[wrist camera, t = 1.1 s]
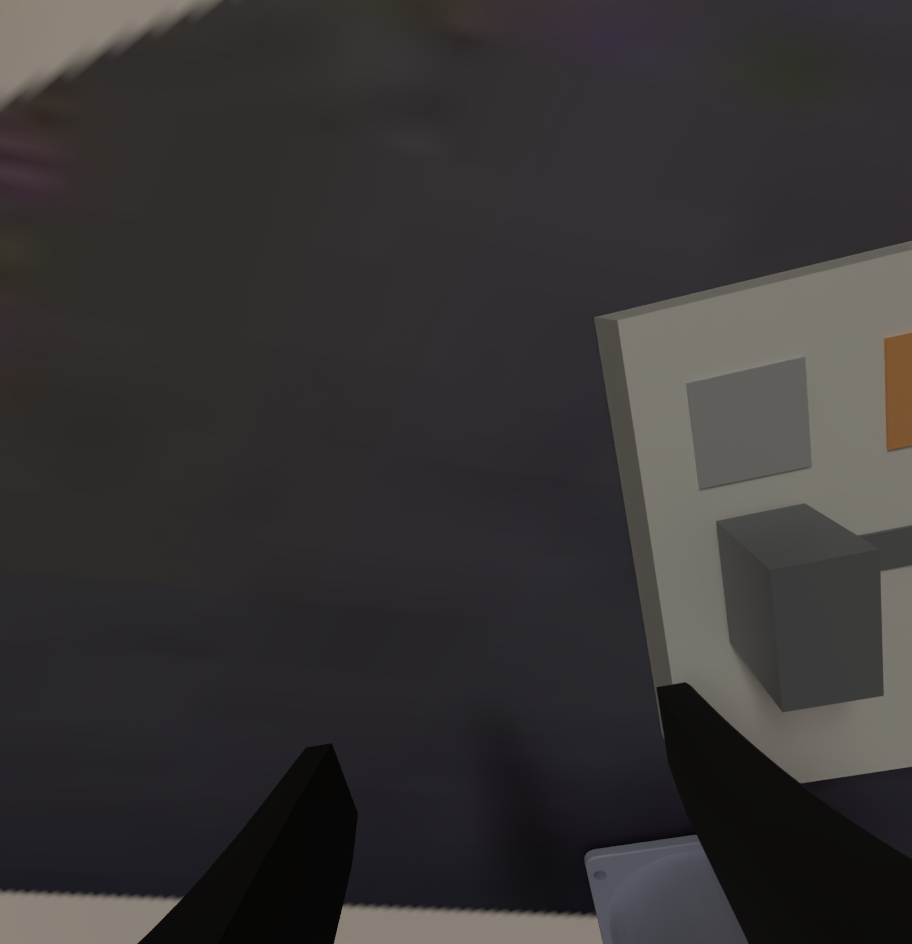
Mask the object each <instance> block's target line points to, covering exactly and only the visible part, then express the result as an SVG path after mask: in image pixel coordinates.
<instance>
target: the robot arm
mask: <svg viewBox="0 0 912 944" xmlns="http://www.w3.org/2000/svg"><path fill="white" fill-rule="evenodd" d="M656 689H657V695H658V701H659V707H660V713H661V720H662V726H663V732H664V738H665V744H666V751H667V757H668V763H669V766H670V769H671V772H672V775H673V778H674V780H675V783H676V786H677V789H678V792H679V794H680V797H681V800H682V802H683V805H684V808H685V811H686V813H687V816H688V818H689V820H690V822H691V824H692V826H693V829H694V831H695V833H696V835H689V836H682V837H675V838H669V839H662V840H655V841H648V842H641V843H634V844H627V845H620V846H613V847H606V848H599V849H593V850H590V851H589V852H588V853H586V855H585V858H584V861H585V866H586V870H587V875H588V879H589V883H590V888H591V892H592V897H593V901H594V905H595V910H596V914H597V919H598V923H599V927H600V931H601V936H602V940H603V944H912V859H911V858H909V857H907V856H906V855H904V854H902V853H901V852H899V851H897V850H896V849H894V848H893V847H891V846H889V845H888V844H886V843H885V842H883V841H882V840H880V839H879V838H877V837H876V836H874V835H872V834H871V833H869V832H868V831H866V830H865V829H863V828H862V827H860V826H859V825H857V824H856V823H854V822H853V821H852V820H850V819H849V818H847V817H846V816H844V815H843V814H841V813H840V812H838V811H837V810H836V809H834V808H833V807H831V806H830V805H829V804H827V803H826V802H824V801H823V800H822V799H820V798H819V797H818V796H816V795H815V794H814V793H812V792H811V791H810V790H808V789H807V788H806V787H805V786H803V785H802V784H801V783H799V782H798V781H797V780H796V779H794V778H793V777H792V776H790V775H789V774H788V773H787V772H785V771H784V770H783V769H782V768H780V767H779V766H778V765H777V764H776V763H774V762H773V761H772V760H771V759H769V758H768V757H767V756H766V755H765V754H764V753H762V752H761V751H760V750H759V749H758V748H757V747H755V746H754V745H753V744H752V743H751V742H750V741H749V740H747V739H746V738H745V737H744V736H743V735H742V734H741V733H739V732H738V731H737V730H736V729H735V728H734V727H733V726H732V725H731V724H730V723H729V722H727V721H726V720H725V719H724V718H723V717H722V716H721V715H720V714H719V713H718V712H717V711H716V710H715V709H714V708H713V707H712V706H711V705H710V704H709V703H708V702H707V701H706V700H705V699H704V698H703V697H702V696H701V695H700V694H699V693H698V692H697V691H696V690H695V689H694V688H693V687H692V686H691V685H689V684H688V683H686V682H684V683H678V684H672V685H666V686H661V687H656ZM357 816H358V813H357V810H356V807H355V805H354V802H353V799H352V797H351V794H350V791H349V788H348V786H347V783H346V780H345V778H344V775H343V772H342V770H341V767H340V764H339V761H338V759H337V756H336V753H335V751H334V748H333V745H332V743H331V744H325V745H320V746H314V747H308V748H306V749H305V750H304V751H303V752H302V754H301V755H300V756H299V757H298V759H297V760H296V761H295V762H294V764H293V765H292V766H291V768H290V769H289V770H288V771H287V773H286V774H285V775H284V777H283V778H282V779H281V781H280V782H279V783H278V784H277V786H276V787H275V788H274V790H273V791H272V792H271V794H270V795H269V796H268V798H267V799H266V800H265V801H264V803H263V804H262V805H261V806H260V808H259V809H258V810H257V812H256V813H255V814H254V815H253V817H252V818H251V819H250V820H249V822H248V823H247V824H246V826H245V827H244V828H243V829H242V831H241V832H240V833H239V834H238V835H237V837H236V838H235V839H234V840H233V841H232V842H231V844H230V845H229V846H228V847H227V848H226V850H225V851H224V852H223V853H222V854H221V855H220V857H219V858H218V859H217V860H216V861H215V863H214V864H213V865H212V866H211V867H210V868H209V870H208V871H207V872H206V873H205V874H204V876H203V877H202V878H201V879H200V880H199V881H198V882H197V883H196V884H195V886H194V887H193V888H192V889H191V890H190V891H189V892H188V893H187V894H186V895H185V896H184V897H183V899H182V900H181V901H180V902H179V903H178V904H177V905H176V906H175V907H174V908H173V909H172V910H171V911H170V912H169V913H168V914H167V915H166V916H165V917H164V918H163V919H162V920H161V921H160V922H159V924H157V925H156V926H155V927H154V928H153V929H152V931H150V932H149V933H148V934H147V935H146V936H145V937H144V938H143V939H142V940H141V941H140V942H139V943H138V944H334V940H335V936H336V932H337V927H338V923H339V919H340V915H341V910H342V906H343V902H344V897H345V893H346V889H347V884H348V880H349V875H350V871H351V866H352V859H353V852H354V844H355V835H356V825H357Z"/></svg>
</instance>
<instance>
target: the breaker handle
mask: <svg viewBox="0 0 912 944" xmlns="http://www.w3.org/2000/svg"><path fill="white" fill-rule="evenodd" d="M716 524H717V533H718V542H719V550H720V559H721V568H722V576H723V585H724V594H725V603H726V611H727V620H728V629H729V637H730V643H731V644H732V645H733V647H734V648H735V649H736V651H737V652H738V654H739V655H740V656H741V658H742V659H743V660H744V662H745V663H746V664H747V666H748V667H749V668H750V670H751V671H752V672H753V674H754V675H755V676H756V678H757V679H758V680H759V682H760V683H761V684H762V686H763V687H764V688H765V690H766V691H767V692H768V694H769V695H770V696H771V698H772V699H773V700H774V702H775V703H776V704H777V706H778V707H779V709H780V710H781V711H782V712H788V711H794V710H800V709H806V708H813V707H819V706H825V705H831V704H837V703H843V702H849V701H855V700H861V699H867V698H874V697H880V696H884V686H883V649H882V611H881V574H880V549H879V548H877V547H875V546H874V545H872V544H870V543H869V542H867V541H866V540H864V539H862V538H861V537H859V536H857V535H856V534H854V533H853V532H851V531H849V530H848V529H846V528H844V527H843V526H841V525H839V524H838V523H836V522H835V521H833V520H831V519H830V518H828V517H826V516H825V515H823V514H821V513H820V512H818V511H817V510H815V509H813V508H812V507H810V506H808V505H807V504H805V503H804V504H799V505H794V506H789V507H784V508H779V509H774V510H769V511H764V512H759V513H754V514H749V515H744V516H739V517H734V518H729V519H724V520H719V521H716Z"/></svg>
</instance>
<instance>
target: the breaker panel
mask: <svg viewBox="0 0 912 944" xmlns="http://www.w3.org/2000/svg"><path fill="white" fill-rule="evenodd" d="M594 321H595V327H596V333H597V339H598V345H599V351H600V358H601V364H602V370H603V376H604V382H605V388H606V394H607V400H608V407H609V413H610V419H611V425H612V431H613V437H614V443H615V450H616V456H617V462H618V468H619V474H620V480H621V486H622V492H623V499H624V505H625V511H626V517H627V523H628V529H629V535H630V541H631V548H632V554H633V560H634V566H635V572H636V578H637V584H638V591H639V597H640V603H641V609H642V615H643V621H644V627H645V633H646V640H647V646H648V652H649V658H650V664H651V670H652V676H653V683H654V689H655V695H656V701H657V707H658V713H659V719H660V725H661V732H662V735H663V738H664V732H663V726H662V720H661V713H660V707H659V701H658V695H657V689H656V687H661V686H666V685H672V684H678V683H684V682H686V683H688V684H689V685H691V686H692V687H693V688H694V689H695V690H696V691H697V692H698V693H699V694H700V695H701V696H702V697H703V698H704V699H705V700H706V701H707V702H708V703H709V704H710V705H711V706H712V707H713V708H714V709H715V710H716V711H717V712H718V713H719V714H720V715H721V716H722V717H723V718H724V719H725V720H726V721H727V722H729V723H730V724H731V725H732V726H733V727H734V728H735V729H736V730H737V731H738V732H739V733H741V734H742V735H743V736H744V737H745V738H746V739H747V740H749V741H750V742H751V743H752V744H753V745H754V746H755V747H757V748H758V749H759V750H760V751H761V752H762V753H764V754H765V755H766V756H767V757H768V758H769V759H771V760H772V761H773V762H774V763H776V764H777V765H778V766H779V767H780V768H782V769H783V770H784V771H785V772H787V773H788V774H789V775H790V776H792V777H793V778H794V779H796V780H797V781H798V782H799V783H806V782H813V781H819V780H826V779H833V778H839V777H846V776H852V775H859V774H866V773H872V772H879V771H886V770H892V769H899V768H905V767H912V241H909V242H905V243H901V244H897V245H892V246H888V247H884V248H880V249H876V250H872V251H867V252H863V253H859V254H855V255H851V256H847V257H843V258H838V259H834V260H830V261H826V262H822V263H818V264H814V265H809V266H805V267H801V268H797V269H793V270H789V271H785V272H780V273H776V274H772V275H768V276H764V277H760V278H756V279H751V280H747V281H743V282H739V283H735V284H731V285H727V286H722V287H718V288H714V289H710V290H706V291H702V292H698V293H693V294H689V295H685V296H681V297H677V298H673V299H668V300H664V301H660V302H656V303H652V304H648V305H644V306H639V307H635V308H631V309H627V310H623V311H619V312H615V313H610V314H606V315H602V316H598V317H594ZM804 503H805V504H807V505H808V506H810V507H812V508H813V509H815V510H817V511H818V512H820V513H821V514H823V515H825V516H826V517H828V518H830V519H831V520H833V521H835V522H836V523H838V524H839V525H841V526H843V527H844V528H846V529H848V530H849V531H851V532H853V533H854V534H856V535H857V536H859V537H861V538H862V539H864V540H866V541H867V542H869V543H870V544H872V545H874V546H875V547H877V548H879V549H880V574H881V611H882V649H883V686H884V696H880V697H874V698H867V699H861V700H855V701H849V702H843V703H837V704H831V705H825V706H819V707H813V708H806V709H800V710H794V711H788V712H782V711H781V710H780V709H779V707H778V706H777V704H776V703H775V702H774V700H773V699H772V698H771V696H770V695H769V694H768V692H767V691H766V690H765V688H764V687H763V686H762V684H761V683H760V682H759V680H758V679H757V678H756V676H755V675H754V674H753V672H752V671H751V670H750V668H749V667H748V666H747V664H746V663H745V662H744V660H743V659H742V658H741V656H740V655H739V654H738V652H737V651H736V649H735V648H734V647H733V645H732V644H731V643H730V637H729V629H728V620H727V611H726V603H725V594H724V585H723V576H722V568H721V559H720V550H719V542H718V533H717V524H716V521H719V520H724V519H729V518H734V517H739V516H744V515H749V514H754V513H759V512H764V511H769V510H774V509H779V508H784V507H789V506H794V505H799V504H804ZM664 740H665V738H664Z"/></svg>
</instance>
